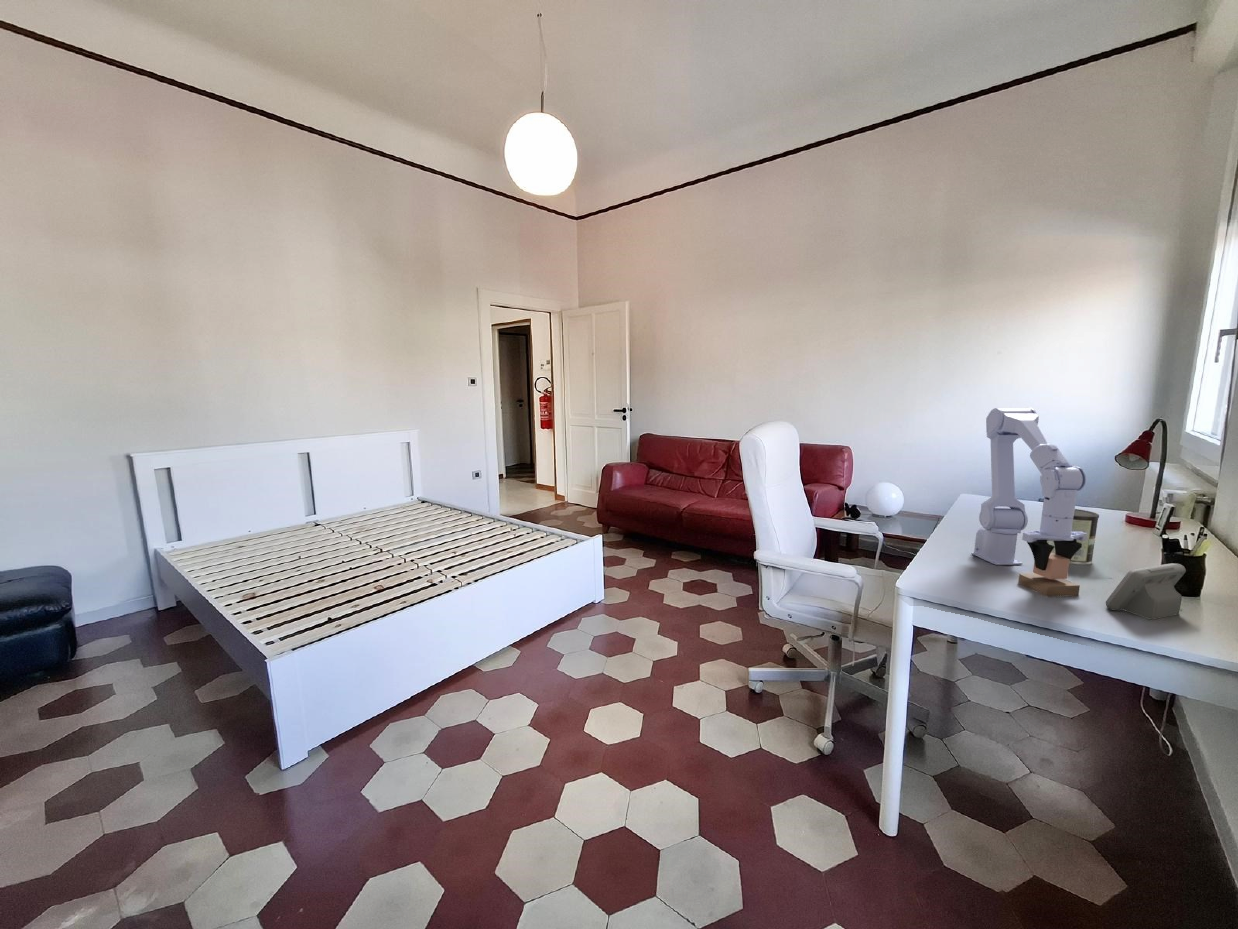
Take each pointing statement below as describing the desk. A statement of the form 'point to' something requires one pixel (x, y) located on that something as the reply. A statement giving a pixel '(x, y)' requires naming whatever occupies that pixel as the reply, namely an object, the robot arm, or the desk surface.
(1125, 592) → the digital clock
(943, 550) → the desk surface
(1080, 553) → the coffee can
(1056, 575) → the terracotta block
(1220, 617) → the desk surface
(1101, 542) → the desk surface
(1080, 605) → the desk surface
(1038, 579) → the walnut slab
